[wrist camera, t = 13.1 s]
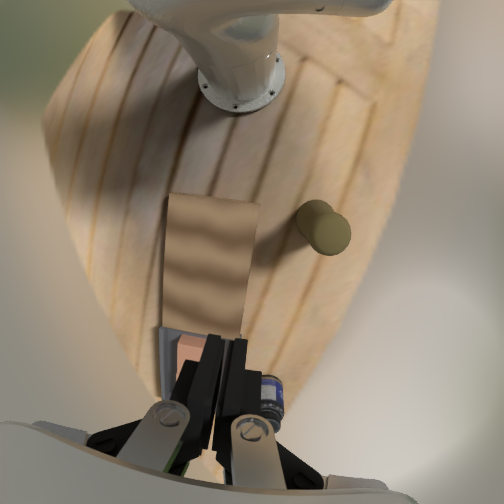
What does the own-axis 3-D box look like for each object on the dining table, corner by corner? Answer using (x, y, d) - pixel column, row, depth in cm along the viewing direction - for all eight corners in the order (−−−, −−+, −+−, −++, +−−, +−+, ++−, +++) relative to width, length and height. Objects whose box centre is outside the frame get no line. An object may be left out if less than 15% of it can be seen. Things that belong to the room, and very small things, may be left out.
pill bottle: (281, 396, 52) (283, 438, 41) (250, 395, 52) (247, 437, 41) (283, 373, 50) (286, 416, 39) (250, 372, 50) (247, 415, 40)
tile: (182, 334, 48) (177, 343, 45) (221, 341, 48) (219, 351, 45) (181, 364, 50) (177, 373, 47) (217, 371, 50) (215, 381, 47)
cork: (297, 241, 43) (307, 265, 32) (294, 201, 41) (304, 212, 31) (336, 237, 43) (358, 260, 32) (334, 198, 41) (357, 208, 30)
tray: (164, 320, 48) (158, 329, 45) (241, 334, 48) (240, 344, 45) (165, 391, 53) (161, 400, 50) (230, 404, 53) (228, 414, 50)
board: (173, 192, 42) (169, 193, 40) (259, 203, 42) (259, 205, 40) (165, 320, 48) (162, 326, 46) (239, 334, 48) (238, 340, 46)
